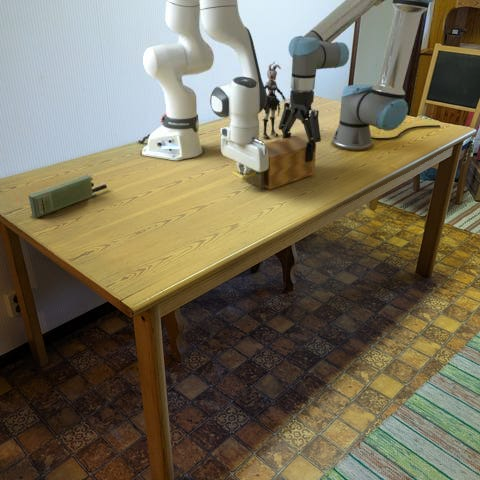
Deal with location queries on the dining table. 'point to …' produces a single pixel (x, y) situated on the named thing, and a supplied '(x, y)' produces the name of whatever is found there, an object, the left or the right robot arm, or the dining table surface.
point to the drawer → (254, 177)
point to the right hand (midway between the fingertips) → (297, 156)
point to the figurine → (271, 99)
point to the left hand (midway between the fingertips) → (244, 176)
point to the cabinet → (288, 161)
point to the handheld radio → (62, 195)
